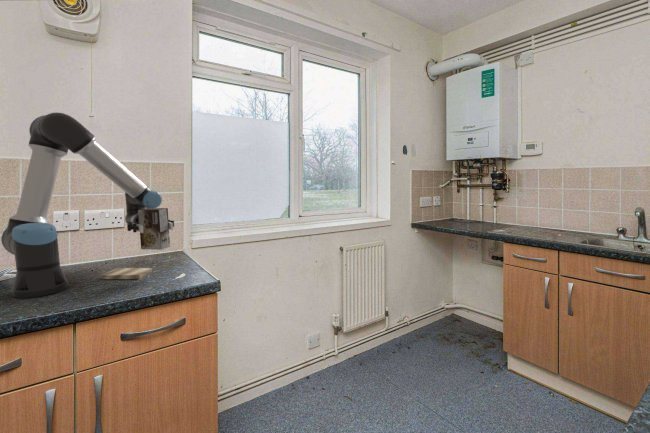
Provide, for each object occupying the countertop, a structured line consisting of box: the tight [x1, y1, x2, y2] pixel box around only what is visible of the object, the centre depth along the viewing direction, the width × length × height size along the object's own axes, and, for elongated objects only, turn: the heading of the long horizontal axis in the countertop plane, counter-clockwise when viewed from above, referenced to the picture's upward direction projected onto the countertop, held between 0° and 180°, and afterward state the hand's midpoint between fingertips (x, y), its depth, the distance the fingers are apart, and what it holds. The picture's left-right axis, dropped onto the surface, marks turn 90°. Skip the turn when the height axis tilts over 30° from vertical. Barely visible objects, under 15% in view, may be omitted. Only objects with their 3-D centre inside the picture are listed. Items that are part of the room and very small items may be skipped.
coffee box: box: [138, 207, 171, 251], centre depth 136 cm, size 9×6×16 cm
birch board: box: [100, 267, 153, 280], centre depth 137 cm, size 15×10×2 cm, turn 91°
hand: (157, 227), depth 133 cm, fingers closed on coffee box, 10 cm apart
